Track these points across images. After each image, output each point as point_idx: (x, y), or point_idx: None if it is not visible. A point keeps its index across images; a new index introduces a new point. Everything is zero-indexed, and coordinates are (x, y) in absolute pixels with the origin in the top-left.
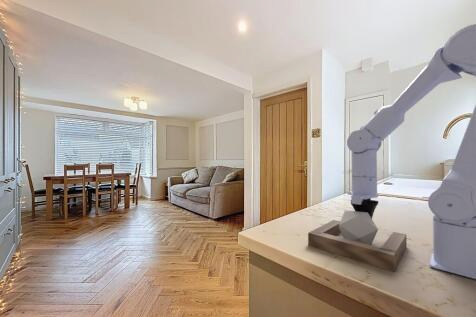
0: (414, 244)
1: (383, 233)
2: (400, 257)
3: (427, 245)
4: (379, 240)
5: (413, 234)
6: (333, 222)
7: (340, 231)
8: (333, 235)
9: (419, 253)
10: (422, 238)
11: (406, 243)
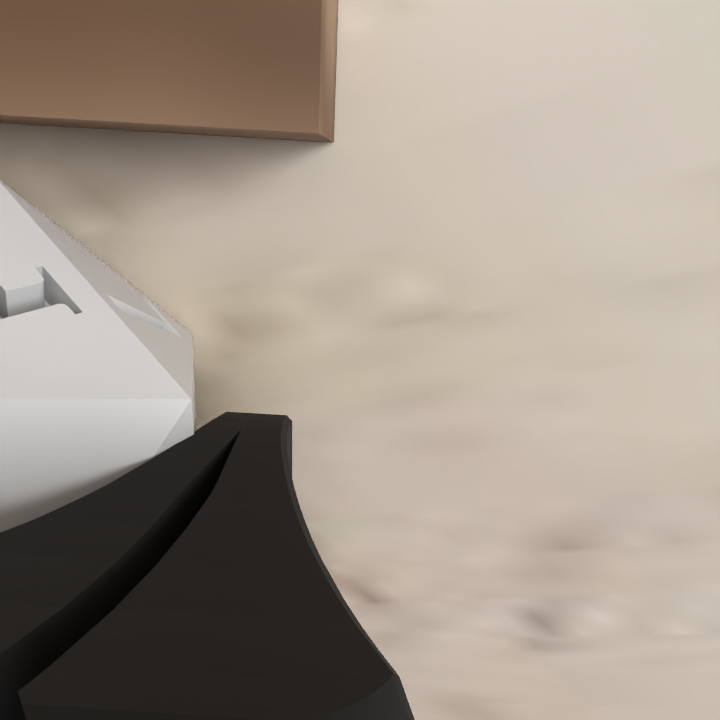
0: (420, 667)
1: (586, 496)
2: None
3: (456, 716)
4: (333, 494)
5: (701, 663)
6: (138, 10)
7: (258, 137)
8: (5, 121)
9: None
10: (617, 701)
11: None
